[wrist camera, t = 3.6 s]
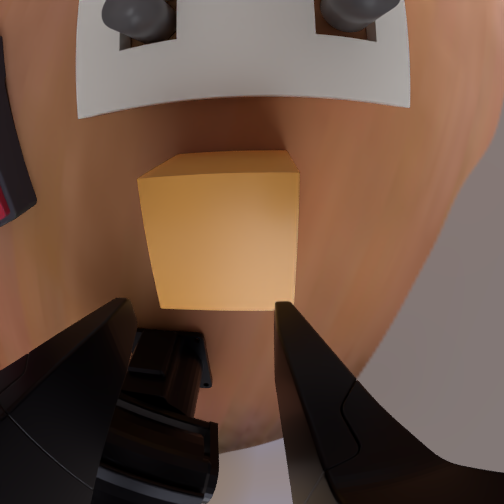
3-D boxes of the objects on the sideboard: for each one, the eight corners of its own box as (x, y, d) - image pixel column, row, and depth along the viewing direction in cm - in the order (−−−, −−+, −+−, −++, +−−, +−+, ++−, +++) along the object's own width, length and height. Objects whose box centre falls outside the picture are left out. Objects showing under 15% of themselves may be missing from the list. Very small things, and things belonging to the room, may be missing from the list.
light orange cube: (284, 249, 18) (293, 310, 13) (188, 249, 18) (160, 308, 13) (286, 150, 15) (299, 172, 10) (178, 154, 16) (137, 178, 10)
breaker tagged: (177, 40, 13) (153, 22, 9) (134, 48, 13) (100, 36, 9) (178, 1, 11) (155, -24, 8) (135, 11, 11) (103, -9, 8)
